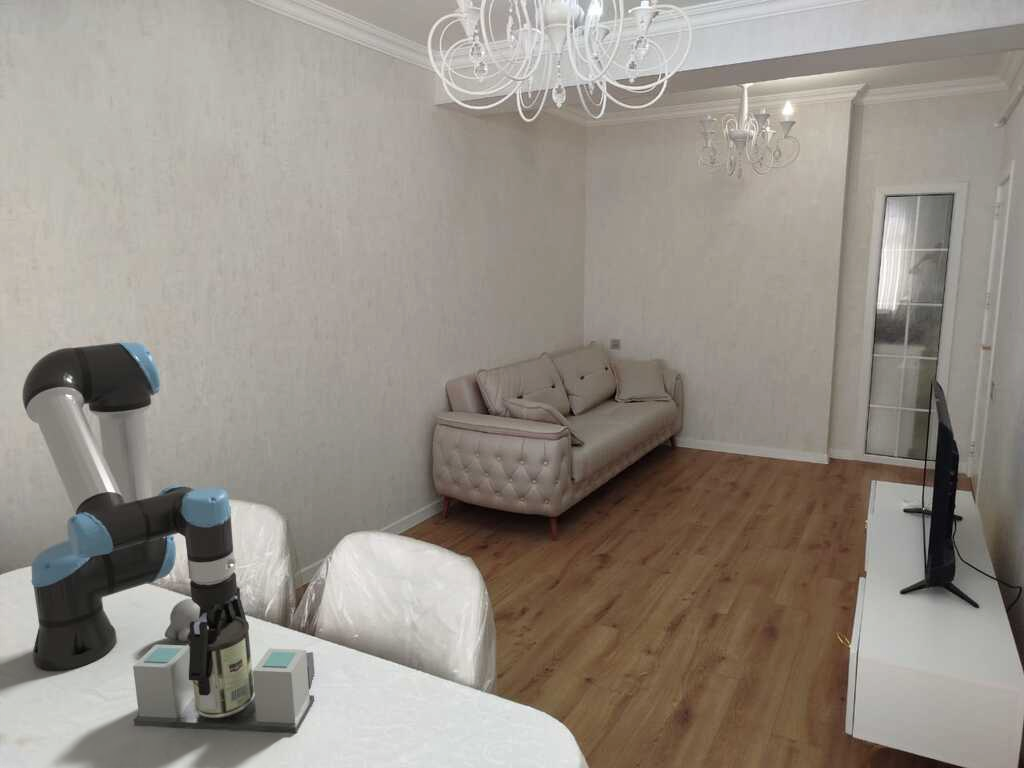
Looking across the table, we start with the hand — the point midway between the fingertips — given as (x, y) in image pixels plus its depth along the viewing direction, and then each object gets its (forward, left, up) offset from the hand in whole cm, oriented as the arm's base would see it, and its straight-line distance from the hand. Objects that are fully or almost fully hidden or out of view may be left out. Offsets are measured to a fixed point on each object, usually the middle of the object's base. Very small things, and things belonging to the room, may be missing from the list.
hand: (223, 689), depth 130 cm
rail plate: (0, 0, -5) cm, 5 cm away
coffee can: (0, 0, -2) cm, 2 cm away
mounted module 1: (-11, 0, -4) cm, 11 cm away
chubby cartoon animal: (-20, +26, -5) cm, 33 cm away
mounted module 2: (+11, 0, -4) cm, 12 cm away
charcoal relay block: (+10, +10, -5) cm, 15 cm away
